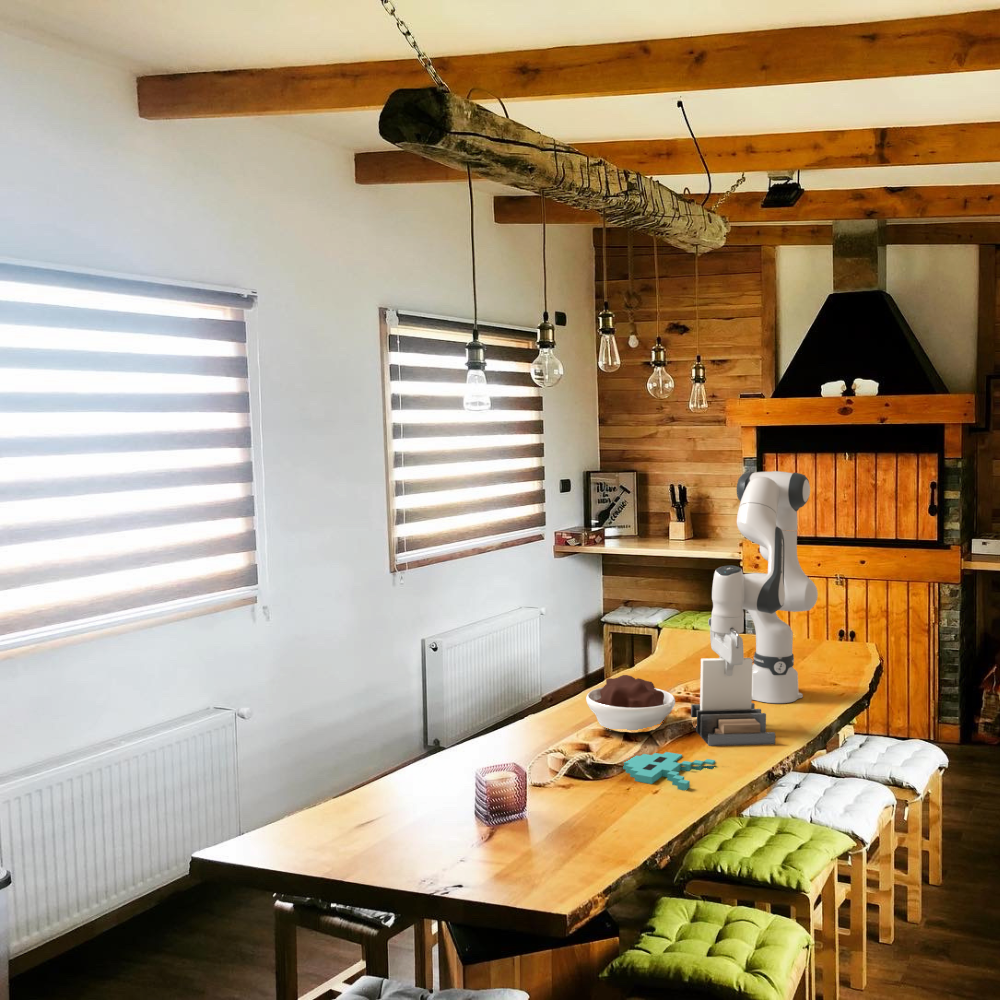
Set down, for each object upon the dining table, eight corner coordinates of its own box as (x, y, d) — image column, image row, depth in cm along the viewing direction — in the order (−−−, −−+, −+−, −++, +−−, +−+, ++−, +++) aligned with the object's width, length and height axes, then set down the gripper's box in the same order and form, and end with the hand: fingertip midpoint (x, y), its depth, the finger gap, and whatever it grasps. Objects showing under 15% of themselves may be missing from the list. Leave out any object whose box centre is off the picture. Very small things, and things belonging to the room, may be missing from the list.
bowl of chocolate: (691, 727, 314) (691, 675, 313) (644, 748, 295) (645, 693, 294) (617, 711, 330) (617, 662, 329) (568, 731, 311) (568, 678, 309)
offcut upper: (718, 728, 300) (718, 719, 300) (754, 727, 301) (754, 718, 301) (723, 734, 295) (723, 725, 295) (760, 733, 296) (760, 724, 296)
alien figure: (715, 768, 280) (642, 756, 290) (715, 760, 280) (642, 747, 290) (686, 792, 263) (610, 778, 273) (686, 783, 263) (610, 769, 273)
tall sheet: (699, 711, 309) (700, 658, 308) (748, 710, 311) (749, 657, 309) (702, 713, 307) (703, 660, 306) (751, 712, 308) (752, 659, 307)
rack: (690, 729, 312) (691, 704, 312) (753, 727, 314) (753, 702, 313) (708, 750, 293) (709, 723, 293) (774, 748, 295) (775, 722, 294)
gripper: (749, 632, 297) (748, 682, 298) (728, 617, 317) (727, 665, 318) (726, 632, 296) (726, 683, 297) (706, 618, 316) (705, 665, 318)
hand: (726, 673), depth 308 cm, fingers closed on tall sheet, 2 cm apart
